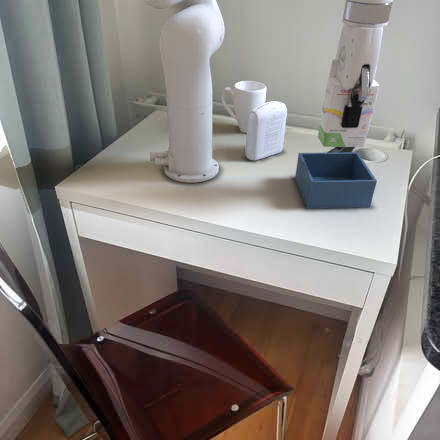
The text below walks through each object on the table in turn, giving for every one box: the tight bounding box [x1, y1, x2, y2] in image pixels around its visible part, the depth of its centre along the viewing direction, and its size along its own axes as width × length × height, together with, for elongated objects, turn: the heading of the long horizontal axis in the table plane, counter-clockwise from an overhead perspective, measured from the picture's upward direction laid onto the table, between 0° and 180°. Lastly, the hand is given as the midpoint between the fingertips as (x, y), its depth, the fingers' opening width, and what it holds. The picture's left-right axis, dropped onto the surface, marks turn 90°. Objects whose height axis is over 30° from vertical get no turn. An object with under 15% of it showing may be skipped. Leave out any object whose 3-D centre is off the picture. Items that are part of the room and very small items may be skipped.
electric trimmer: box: [326, 147, 356, 153], centre depth 110 cm, size 4×16×3 cm, turn 142°
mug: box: [220, 80, 267, 134], centre depth 120 cm, size 12×8×11 cm
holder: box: [294, 151, 378, 210], centre depth 96 cm, size 13×13×6 cm
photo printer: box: [244, 100, 288, 161], centre depth 108 cm, size 10×4×12 cm, turn 128°
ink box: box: [317, 58, 380, 148], centre depth 86 cm, size 9×5×15 cm, turn 93°
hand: (345, 120), depth 88 cm, fingers closed on ink box, 5 cm apart
